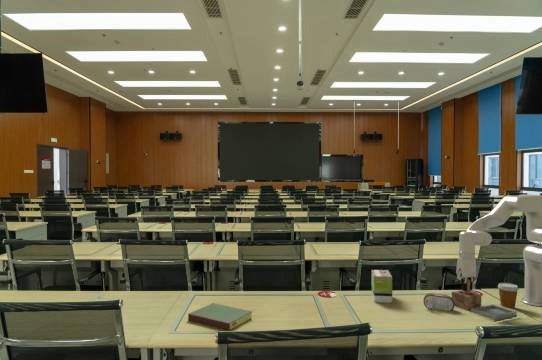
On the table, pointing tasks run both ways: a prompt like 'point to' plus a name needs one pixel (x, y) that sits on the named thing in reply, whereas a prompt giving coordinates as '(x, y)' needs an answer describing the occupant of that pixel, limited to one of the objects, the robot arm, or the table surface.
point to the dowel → (467, 288)
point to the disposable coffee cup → (508, 294)
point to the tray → (494, 312)
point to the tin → (439, 302)
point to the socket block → (466, 300)
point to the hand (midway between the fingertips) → (466, 289)
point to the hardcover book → (220, 316)
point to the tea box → (382, 286)
